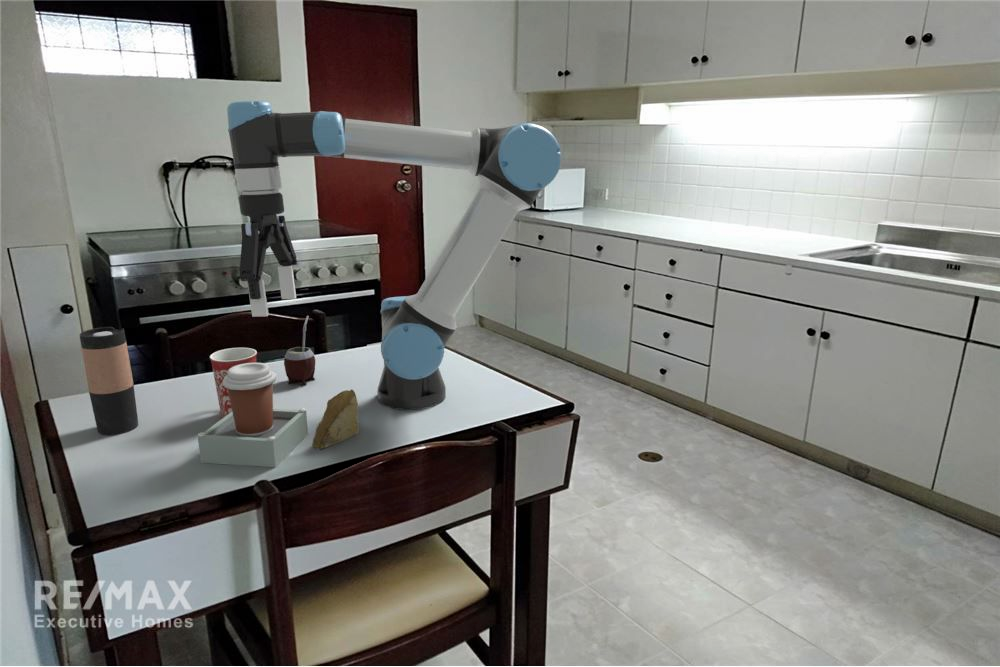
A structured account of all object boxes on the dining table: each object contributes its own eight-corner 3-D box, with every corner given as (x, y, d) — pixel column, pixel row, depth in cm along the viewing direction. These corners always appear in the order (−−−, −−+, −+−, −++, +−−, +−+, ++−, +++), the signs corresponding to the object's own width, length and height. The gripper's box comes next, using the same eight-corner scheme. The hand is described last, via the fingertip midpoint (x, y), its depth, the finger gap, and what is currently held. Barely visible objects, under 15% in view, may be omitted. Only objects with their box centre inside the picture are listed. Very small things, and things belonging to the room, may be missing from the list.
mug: (264, 419, 136) (258, 357, 132) (217, 426, 133) (209, 362, 129) (260, 398, 147) (254, 341, 144) (216, 404, 144) (209, 345, 140)
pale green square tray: (308, 434, 129) (306, 408, 127) (275, 467, 115) (273, 439, 114) (240, 430, 131) (237, 404, 129) (200, 462, 117) (196, 434, 116)
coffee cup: (286, 419, 126) (281, 360, 123) (272, 440, 118) (266, 376, 114) (238, 420, 126) (231, 360, 123) (220, 440, 117) (213, 377, 114)
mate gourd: (290, 388, 153) (284, 326, 149) (282, 379, 160) (276, 319, 156) (322, 383, 157) (317, 322, 153) (313, 374, 163) (308, 315, 159)
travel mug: (95, 438, 127) (76, 339, 122) (97, 424, 133) (80, 329, 128) (139, 431, 130) (124, 333, 125) (140, 417, 137) (125, 324, 131)
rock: (316, 446, 119) (369, 428, 123) (301, 402, 121) (353, 386, 125) (312, 459, 128) (361, 441, 132) (298, 418, 130) (347, 402, 134)
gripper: (268, 188, 131) (281, 292, 137) (205, 198, 107) (225, 324, 113) (304, 187, 130) (317, 292, 136) (250, 197, 106) (267, 324, 112)
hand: (275, 307), depth 124 cm, fingers open, 13 cm apart
